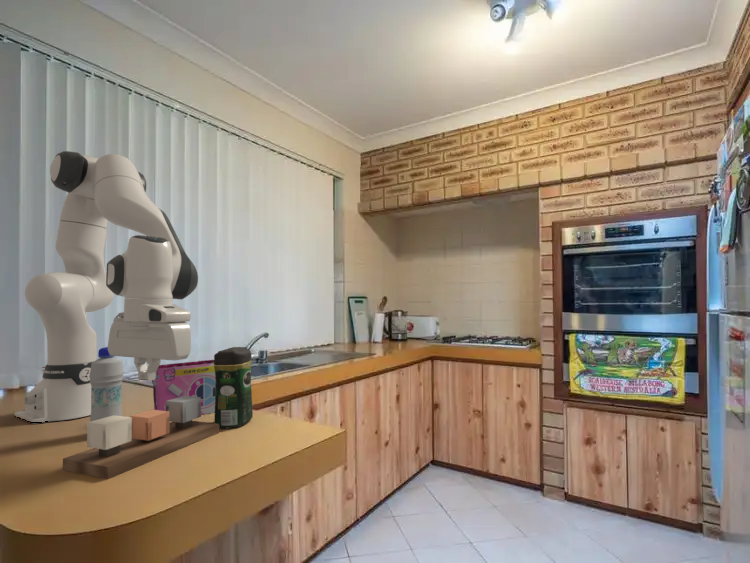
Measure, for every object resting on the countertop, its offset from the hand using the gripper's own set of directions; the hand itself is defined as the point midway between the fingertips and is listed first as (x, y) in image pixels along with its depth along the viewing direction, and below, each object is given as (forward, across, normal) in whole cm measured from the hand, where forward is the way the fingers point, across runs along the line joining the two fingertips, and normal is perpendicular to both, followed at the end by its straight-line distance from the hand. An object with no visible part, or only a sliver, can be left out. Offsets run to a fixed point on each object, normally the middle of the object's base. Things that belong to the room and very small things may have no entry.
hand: (146, 380), depth 84 cm
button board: (+14, +1, +1) cm, 14 cm away
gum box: (+14, -12, +27) cm, 33 cm away
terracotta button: (+11, +1, +1) cm, 11 cm away
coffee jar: (+14, +5, +21) cm, 25 cm away
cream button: (+10, +1, -8) cm, 13 cm away
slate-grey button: (+10, +1, +9) cm, 14 cm away
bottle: (+15, -18, +4) cm, 24 cm away
